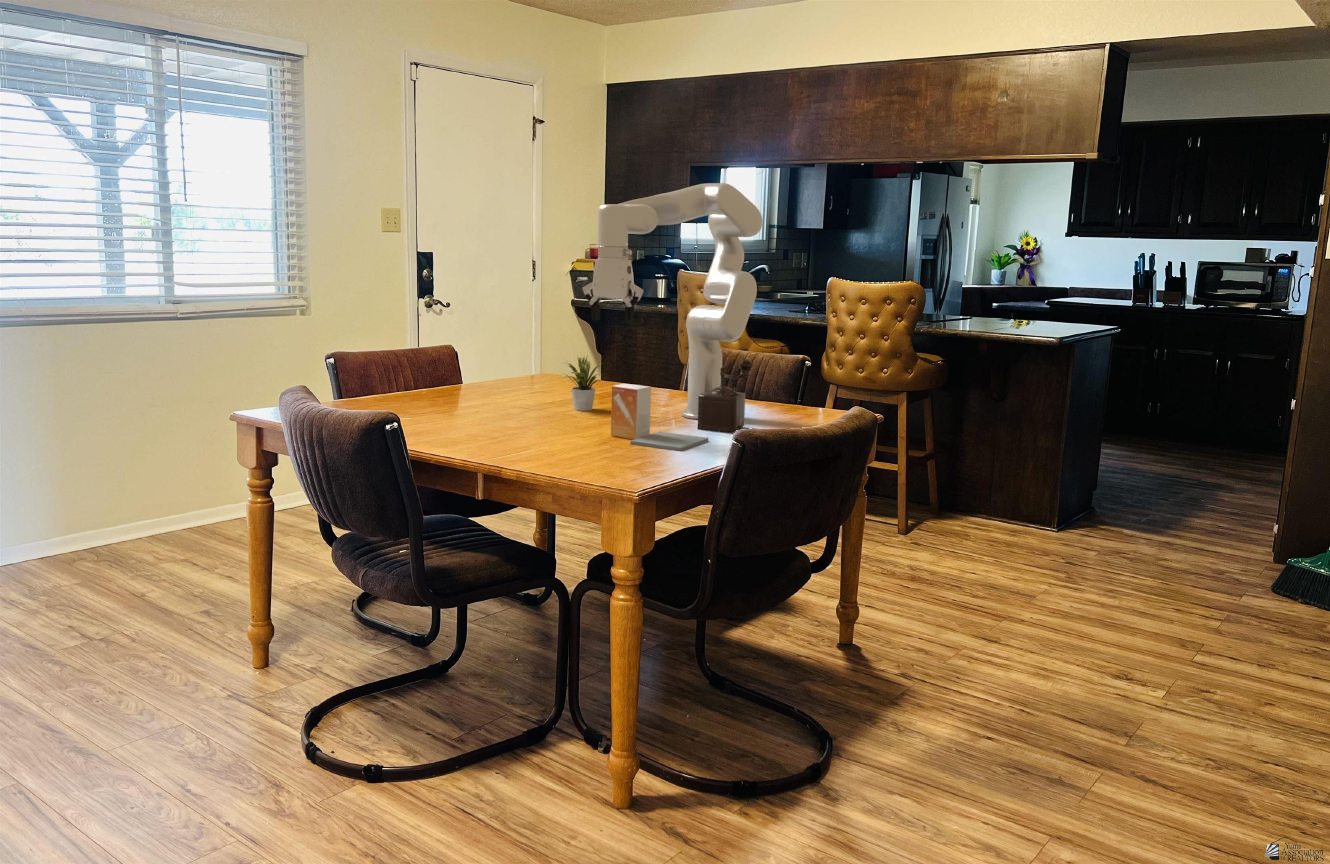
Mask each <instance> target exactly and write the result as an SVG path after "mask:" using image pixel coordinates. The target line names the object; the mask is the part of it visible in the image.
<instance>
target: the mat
mask: <svg viewBox="0 0 1330 864" xmlns="http://www.w3.org/2000/svg"><path fill="white" fill-rule="evenodd" d="M707 442H709V437H704V436H697V435H690V434H682V433H680V434H679V433H674V432H665V431H657V432H654V433H650V435H647V436H644V437H641V438H638V439H635V440H633V439H631V440H630V443H629V444H630V445H633V446H634V445H635V446H642V447H648V448H656V449H663V450H671V451H678V452H682V451H684V450H688V449H691V448H693V447H696V446H699V445H701V444H704V443H707Z"/></svg>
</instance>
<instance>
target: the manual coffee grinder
mask: <svg viewBox="0 0 1330 864" xmlns="http://www.w3.org/2000/svg"><path fill="white" fill-rule="evenodd" d="M738 367H739V369H740V374H739V375H729V374H726V372H725V370H726V368H725V367H724V366H722V367H721V369H720V371H721V372H720V375H721V385H720V387H717V388H714V389H712V390H711V391H709V392H706V393H703V394H701V395H699V397H698V419H697V430H699V429H700V430H701V431H708V430H710V431H711V432H718V431H720V433H731V434H733V432H734V433H736V432H737V431H736V430H738V429H740V430H742V429H743V428H744V427H745V412H746V393H745V392H739V391H736V387H733V388H732V387H729V386H725V378H727V379H731V380H739V379H744V380H745V379H746V378H749V377H750V371H751V370H752V369H753V367H754V364H753V362H752V361H751V360H750V359H749V360H748V359H742V360H741V361H739V363H738ZM743 426H744V427H743ZM741 428H742V429H741ZM735 431H736V432H735ZM738 431H739V430H738Z"/></svg>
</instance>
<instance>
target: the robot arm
mask: <svg viewBox="0 0 1330 864" xmlns="http://www.w3.org/2000/svg"><path fill="white" fill-rule="evenodd" d="M597 216H598V217H597V220H598V221H597V222H598V223H597V224H598V226H597V236H598V237H597V240H598V241H597V242H598V243H597V248H598V249H597V251H598V252H597V254H598V255H597V258H596V259H595V262H594V269H593V274H592V277H593V278H592V282H590V283H588V284H585V286H584V285H583V287H582V291H583V294H584V296H585V299H586V300H587V301H588V303H589V305H590V306H591V307H590V309H591V310H590V312H591V313H590V314H591V321H594V322H595V321H600V320H601V304H600V302H601V301H602V299H611V300H622V301H623V302H624V304H625V307H624V323H626V324H627V323H628V324H629V323H633V322H634V318H635V307H636V306H637V304H638V303H639V302H640V301H641V298H642V296H643V294H644V289H643V288H641V287H639V286H637V284H635V282H634V280H635V279H634V272H633V271H634V270H633V265H632V260H631V259H628V258H629V256H632V254H633V250H632V249H629V247H628V246H629V234H630V235H632V234H633V235H646V234H649V233H651V232H652V231H654V230H655V228H656V227H657V226H670V225H678V224H682V223H685V222H688V221H691V220H695V219H698V218H702V217H705V216H706V217H707V216H708V219H707V222H708V223H707V224H708V229H709V231H710V233H711V235H712V239H713V242H714V247H715V248H714V249H715V250H714V255H713V259H712V261H711V262H712V263H711V265H710V267H709V270H708V273H707V275H706V278H705V282H704V285H703V295H704V296H703V297H704V298H705V299H706V300H707V301H708V302H711V303H714V304H719V305H720V304H721V305H724V306H721V305H720V306H719V305H709V304H701V305H697V306H694V307H693V308H691V309H690V311H689V312H688V314H687V315H686V319H685V320H686V322H685V324H686V332H687V338H688V371H687V373H688V374H687V399H686V400H687V403H686V404H687V406H686V409H683V410H682V411H681V416H682V417H683V418H688V419H694V420H698V397H699V395H701V394H703V393H706V392H709V391H711V390H712V389H714V388H717V387H720V385H721V375H720V372H721V371H720V369H721V367H723V350H722V347H721V345H720V342H725V343H727V342H728V343H732V342H736V341H737V340H739V339H740V338H741V337H742V335H743V333H744V331H745V329H746V326H747V324H748V321H749V318H750V316H751V312H752V310H753V307H754V303H755V300H756V298H757V292H758V289H757V287H758V286H757V281H756V279H755V277H754V275H752V274H751V273H750V272H748V271H744V270H742V269H743V264H744V261H745V251H744V248H743V245H742V242H741V240H740V238H752V237H755V236H756V235H758V234H759V233H760V231H761V230H762V227H763V217H762V213H761V212H760V209H758V207H757V206H756V205H755V204H754V203H753V202H752V201H750V199H748V197H746V196H745V195H744V194H743V193H742V192H741V191H740V190H739V189H738V188H736V187H734V186H733V185H732V184H730V183H726V182H719V183H717V182H715V183H714V182H713V183H711V182H708V183H699V184H696V185H691V186H688V187H684V188H682V189H677V190H674V191H670V192H669V191H668V192H665V193H659V194H655V195H652V196H651V195H650V196H647V197H642V198H637V199H631V200H627V201H624V202H621V203H618V204H617V203H616V204H614V203H613V204H612V203H611V204H609V203H607V204H606V203H605V204H601V205H600V206H599V207H598V215H597ZM591 290H592V293H591Z"/></svg>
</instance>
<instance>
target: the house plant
mask: <svg viewBox="0 0 1330 864" xmlns="http://www.w3.org/2000/svg"><path fill="white" fill-rule="evenodd" d="M588 356H589V354H588V355H587V356H583V358H582V357H579V356H576V357H577V361H578V368H579V370H578V369H576V367H575V366H574V365H572V364H571V363H569V362H568V360H566V359H565V361H566V364H567V365H565V367H566V366H567V367H569V368H571V370H572V371H570V373H571V374H574V375H575V377H573V376H569V375H567V374H565V373H563V372H561V374H564V375H565V376H563V379H565V378H569V379H570V381H569V382H570V383H571V382H573V384H575V385H576V386H573V387H571V396H572V402H573V409H574V411H577V410H579V412H589V411H590V412H591V411H592V410H593V408H594V407H593V406H594V400H595V395H596V394H595V393H596V388H595V387H593V385H594V384H595V383H597V382H602V380H601V379H597V380H595V379H596V378H597V377H596V376H601V375H602V374H601V373H599V374H594V373H595V372H596V370H597V368H598V367H599V366H600V365H602V364H603V362H602V363H601V362H600V363H599V364H597V365H596V366H595V367H594V368H593V369H592V371H591V372H590V370H591V362H590V360H589V359H588ZM562 364H565V362H562ZM578 371H579V372H578Z"/></svg>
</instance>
